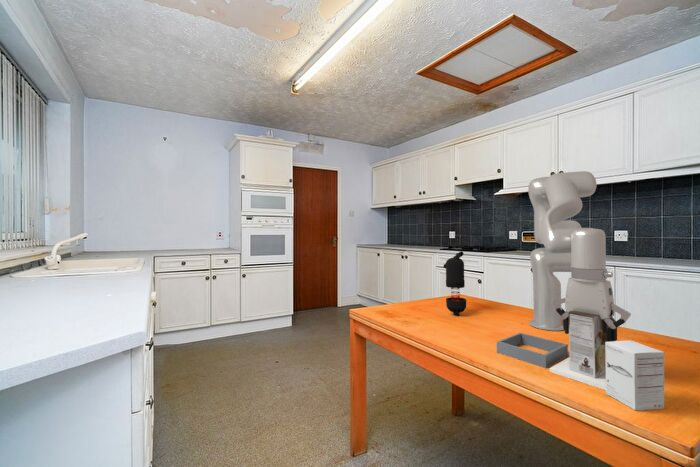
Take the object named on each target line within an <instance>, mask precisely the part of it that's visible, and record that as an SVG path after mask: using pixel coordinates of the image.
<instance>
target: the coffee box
mask: <svg viewBox="0 0 700 467" xmlns="http://www.w3.org/2000/svg"><path fill="white" fill-rule="evenodd" d="M568 313H569V334H568V344H569V345H568V346H569V347H568V356H569V357H570V358H569V359H570V370H572V371H575V372H578V373H581V374H584V375H587V376H590V377H593V378H598V377H600V376H602V375H604V374H606V352H605V351H606V349H605V347H606V346H605V342H607V328H609V326H608V324H607V323H606V322H605V321H604V320H601V318H600V315H597V314H590V313H586V312H579V311H569V312H568Z"/></svg>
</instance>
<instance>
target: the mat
mask: <svg viewBox="0 0 700 467" xmlns="http://www.w3.org/2000/svg"><path fill="white" fill-rule="evenodd" d="M569 358H570V356H567V358H564V359H563V360H560V362H558V363H555V364H553V365H552V366H550V368H549V373H552V374H555V375H558V376H561V377H564V378H568V379H570V380H573V381H576V382H580V383H582V384H586V385H589V386H592V387H595V388H598V389H601V390H605V391H606V374H604V375H602V376H600V377H598V378H593V377H590V376H587V375H584V374H581V373H578V372H575V371H572V370H570V359H569Z"/></svg>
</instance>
